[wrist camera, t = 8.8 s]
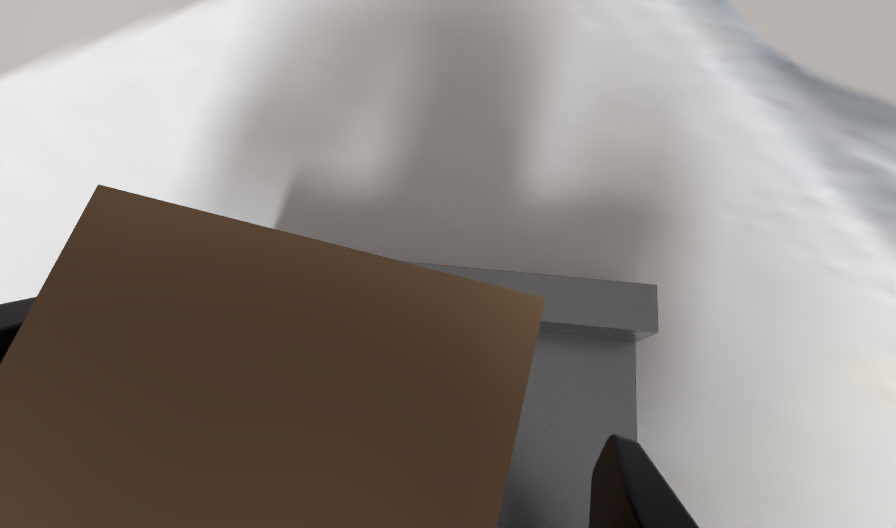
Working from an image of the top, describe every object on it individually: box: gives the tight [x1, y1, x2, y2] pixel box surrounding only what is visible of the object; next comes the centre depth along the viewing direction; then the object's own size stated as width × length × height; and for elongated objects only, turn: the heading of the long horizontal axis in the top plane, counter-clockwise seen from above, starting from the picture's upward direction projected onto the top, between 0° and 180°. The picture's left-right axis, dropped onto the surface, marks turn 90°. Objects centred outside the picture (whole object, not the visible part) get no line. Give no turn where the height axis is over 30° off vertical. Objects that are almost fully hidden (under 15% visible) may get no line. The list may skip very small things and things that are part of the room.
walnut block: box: [0, 185, 546, 528], centre depth 10 cm, size 5×5×12 cm
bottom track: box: [401, 261, 658, 528], centre depth 15 cm, size 12×14×3 cm
